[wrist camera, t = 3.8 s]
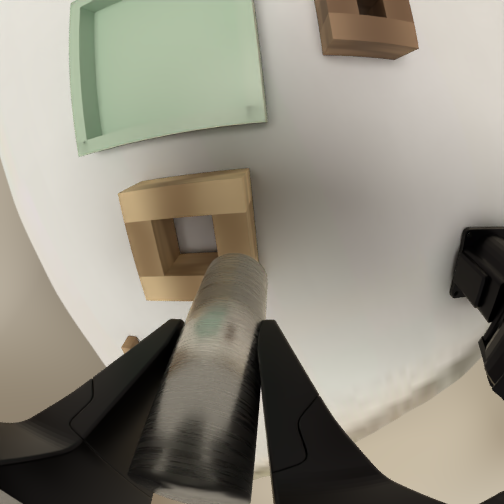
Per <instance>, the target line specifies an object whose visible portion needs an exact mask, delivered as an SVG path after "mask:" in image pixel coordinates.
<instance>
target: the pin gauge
mask: <svg viewBox="0 0 504 504" xmlns="http://www.w3.org/2000/svg"><path fill="white" fill-rule="evenodd" d="M267 286H268V279H267V274H266V272H265V270H264V268H263V267H262V265H261V264H260V263H259V262H258V261H256V260H255V259H254V258H252V257H250V256H248V255H245V254H240V253H228V254H224V255H221V256H219V257H217V258H216V259H214V260H213V261H212V262H211V263H210V265H209V266H208V268H207V271H206V273H205V275H204V277H203V280H202V282H201V285H200V287H199V289H198V292H197V294H196V296H195V299H194V301H193V303H192V306H191V308H190V311H189V313H188V315H187V318H186V320H185V323H184V325H183V328H182V330H181V332H180V335H179V337H178V340H177V342H176V345H175V347H174V350H173V352H172V355H171V357H170V360H169V362H168V365H167V367H166V370H165V373H164V375H163V378H162V380H161V383H160V385H159V388H158V391H157V393H156V396H155V399H154V401H153V404H152V406H151V409H150V412H149V415H148V417H147V420H146V423H145V425H144V428H143V431H142V434H141V436H140V439H139V442H138V445H137V448H136V450H135V453H134V456H133V459H132V462H131V465H130V468H129V471H128V476H129V478H130V479H131V480H132V481H134V482H135V483H136V484H138V485H139V486H141V487H143V488H145V489H147V490H149V491H151V492H153V493H156V494H158V495H161V496H164V497H166V498H169V499H172V500H176V501H179V502H183V503H187V504H250V502H251V493H252V483H253V473H254V462H255V451H256V439H257V427H258V415H259V403H260V390H261V381H260V371H259V361H258V339H259V331H260V324H261V321H262V320H265V319H266V303H267Z"/></svg>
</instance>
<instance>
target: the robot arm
mask: <svg viewBox="0 0 504 504" xmlns="http://www.w3.org/2000/svg"><path fill="white" fill-rule="evenodd" d="M468 233H469V235H468ZM467 235H468V236H467ZM450 295H451V296H452V297H453V298H460V297H467V299H468V300H469V301H470V303H471V304H472V305H473V306H474V308H478V310H479V311H480V312H481V314H482V315H483V316H484V318H485V319H486V320H487V322H488V323H490V322H492V323H491V324H490V326H489V328H488V329H487V331H486V333H485V334H484V336H482V337H481V339H480V340H479V342H478V343H479V347H480V350H481V354H482V358H483V361H484V366H485V371H486V374H487V378H488V381H489V383H490V386H491V387H492V390H493V391H494V392H495V393H496V394H498V395H499V396H500V397H501V398H502V399H503V400H504V227H477V228H466V229H465V230H464V232H463V236H462V241H461V247H460V252H459V256H458V261H457V265H456V270H455V274H454V278H453V283H452V287H451V290H450ZM183 325H184V321H183V320H181V319H170V320H168V321H167V322H166V323H164V324H163V325H162V326H160V327H159V328H158V329H156V330H155V331H154V332H152V333H151V334H150V335H149V336H147V337H146V338H145V339H143V340H142V341H141V342H139V343H138V344H137V345H135V346H134V347H133V348H131V349H130V350H129V351H127V352H126V353H125V354H123V355H122V356H121V357H119V358H118V359H117V360H115V361H114V362H113V363H111V364H110V365H109V366H107V367H106V368H105V369H104V370H102V371H101V372H100V373H98V374H97V375H95V376H94V377H93V379H90V380H89V381H87V382H86V383H85V384H83V385H82V386H81V387H79V388H78V389H76V390H75V391H74V392H72V393H71V394H69V395H68V396H66V397H64V398H63V399H61V400H60V401H58V402H57V403H55V404H53V405H52V406H50V407H48V408H47V409H45V410H43V411H42V412H40V413H38V414H37V415H35V416H33V417H32V418H30V419H28V420H25V421H22V422H18V423H2V422H0V504H151V501H152V496H153V492H151V491H149V490H147V489H145V488H143V487H141V486H139V485H138V484H136V483H135V482H134V481H132V480H131V479H130V478H129V476H128V471H129V468H130V465H131V462H132V459H133V456H134V453H135V450H136V448H137V445H138V442H139V439H140V436H141V434H142V431H143V428H144V425H145V423H146V420H147V417H148V415H149V412H150V409H151V406H152V404H153V401H154V399H155V396H156V393H157V391H158V388H159V385H160V383H161V380H162V378H163V375H164V373H165V370H166V367H167V365H168V362H169V360H170V357H171V355H172V352H173V350H174V347H175V345H176V342H177V340H178V337H179V335H180V332H181V330H182V328H183ZM258 361H259V371H260V381H261V392H262V401H263V411H264V420H265V430H266V439H267V448H268V457H269V466H270V476H271V484H272V494H273V503H274V504H446V503H443V502H441V501H438V500H436V499H433V498H430V497H428V496H425V495H423V494H421V493H418V492H416V491H414V490H411V489H409V488H407V487H405V486H402V485H400V484H398V483H396V482H394V481H392V480H390V479H389V478H387V477H386V476H385V475H383V474H382V473H381V472H380V471H379V470H378V469H377V468H376V467H375V466H374V465H373V464H372V463H371V462H370V460H369V459H368V458H367V457H366V456H365V455H364V454H363V452H361V450H360V449H359V448H358V447H357V446H356V444H355V443H354V442H353V441H352V440H351V439H350V437H349V436H348V435H347V434H346V433H345V431H344V430H343V429H342V428H341V426H340V425H339V424H338V423H337V421H336V420H335V419H334V417H333V416H332V414H331V413H330V411H329V409H328V408H327V406H326V405H325V403H324V402H323V400H322V398H321V397H320V396H319V393H318V392H317V390H316V388H315V387H314V385H313V383H312V382H311V380H310V378H309V377H308V375H307V373H306V372H305V370H304V368H303V367H302V365H301V363H300V362H299V360H298V358H297V356H296V355H295V353H294V351H293V350H292V348H291V346H290V345H289V343H288V341H287V339H286V338H285V336H284V334H283V333H282V331H281V329H280V328H279V326H278V324H277V322H276V321H275V320H262V321H261V324H260V331H259V339H258ZM480 504H504V491H502V492H500V493H498V494H497V495H495V496H493V497H491V498H489V499H487V500H486V501H484V502H482V503H480Z"/></svg>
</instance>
